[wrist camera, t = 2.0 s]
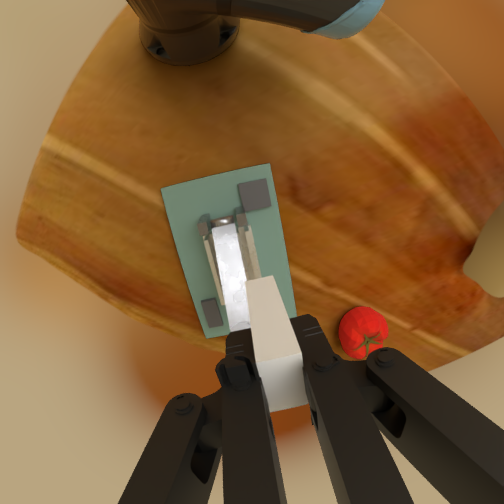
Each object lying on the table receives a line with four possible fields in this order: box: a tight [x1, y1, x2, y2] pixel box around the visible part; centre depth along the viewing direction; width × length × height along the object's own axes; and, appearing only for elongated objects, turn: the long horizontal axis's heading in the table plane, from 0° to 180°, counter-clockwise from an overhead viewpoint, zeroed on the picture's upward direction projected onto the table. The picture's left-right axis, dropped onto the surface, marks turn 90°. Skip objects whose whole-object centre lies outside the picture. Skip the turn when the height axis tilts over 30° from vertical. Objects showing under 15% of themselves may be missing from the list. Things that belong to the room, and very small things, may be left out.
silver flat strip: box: [210, 215, 251, 332], centre depth 34 cm, size 18×3×1 cm
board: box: [161, 163, 297, 339], centre depth 43 cm, size 26×16×2 cm, turn 12°
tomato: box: [339, 306, 388, 359], centre depth 47 cm, size 9×9×8 cm
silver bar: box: [197, 206, 262, 305], centre depth 40 cm, size 17×8×6 cm, turn 12°
